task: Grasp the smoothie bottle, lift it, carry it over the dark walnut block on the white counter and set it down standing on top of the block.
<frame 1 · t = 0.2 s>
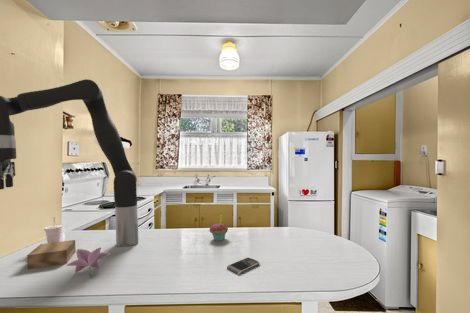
hand: (5, 188, 97), 28 cm above the counter, fingers open, 8 cm apart
walnut block: (53, 259, 96), on the counter
lily: (89, 274, 83), on the counter
cell phone: (243, 268, 85), on the counter
smoothie: (54, 249, 107), on the counter
cupcake: (218, 239, 114), on the counter
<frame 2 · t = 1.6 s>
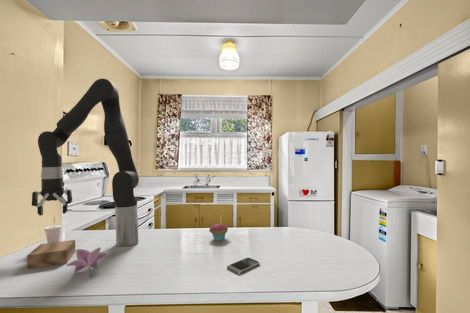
hand: (52, 214, 107), 15 cm above the counter, fingers open, 8 cm apart
nothing on the counter moved.
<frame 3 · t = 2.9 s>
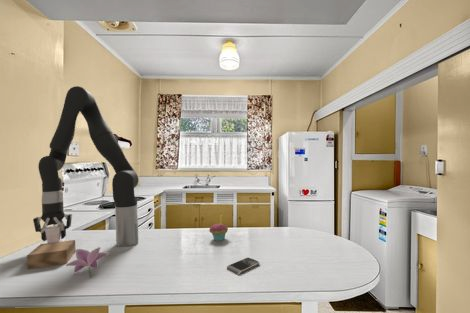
hand: (53, 239, 107), 4 cm above the counter, fingers closed on smoothie, 6 cm apart
smoothie: (54, 249, 107), on the counter, touching gripper
everything else where it was.
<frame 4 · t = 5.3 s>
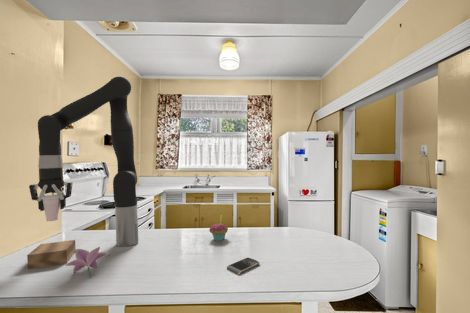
hand: (52, 209, 96), 19 cm above the counter, fingers closed on smoothie, 6 cm apart
smoothie: (52, 220, 96), point 15 cm above the counter, touching gripper
everything else where it was.
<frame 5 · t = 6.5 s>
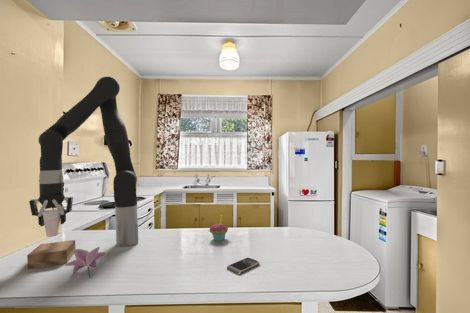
hand: (52, 224, 96), 14 cm above the counter, fingers closed on smoothie, 6 cm apart
smoothie: (52, 235, 96), point 9 cm above the counter, touching gripper
everything else where it was.
when the fingers open (10 cm above the counter, at t = 7.7 s): smoothie stays where it is, resting on walnut block.
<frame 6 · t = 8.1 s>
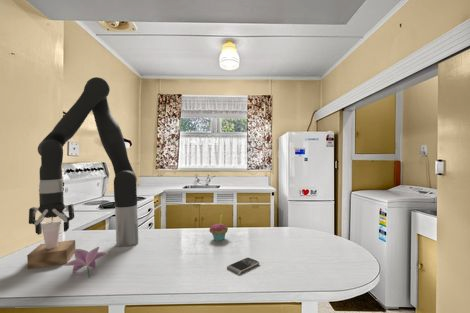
hand: (52, 232, 96), 11 cm above the counter, fingers open, 8 cm apart
smoothie: (51, 247, 95), point 5 cm above the counter, touching walnut block
everything else where it was.
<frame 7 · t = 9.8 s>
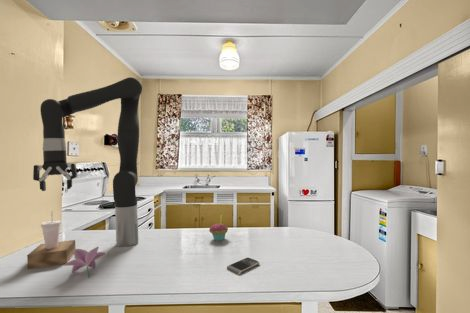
hand: (56, 189, 99), 27 cm above the counter, fingers open, 8 cm apart
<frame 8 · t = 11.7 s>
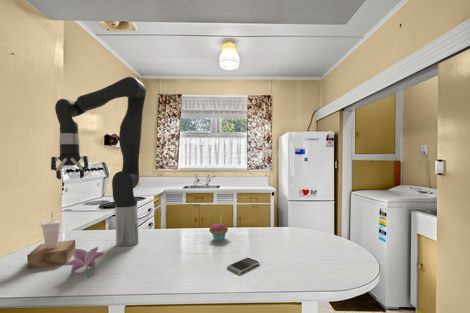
hand: (70, 178, 113), 30 cm above the counter, fingers open, 8 cm apart
at the end: smoothie inside the target area on the walnut block (0.4 cm from its centre), point 4.8 cm above the walnut block's base; smoothie tilted 0°; the gripper is holding nothing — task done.
